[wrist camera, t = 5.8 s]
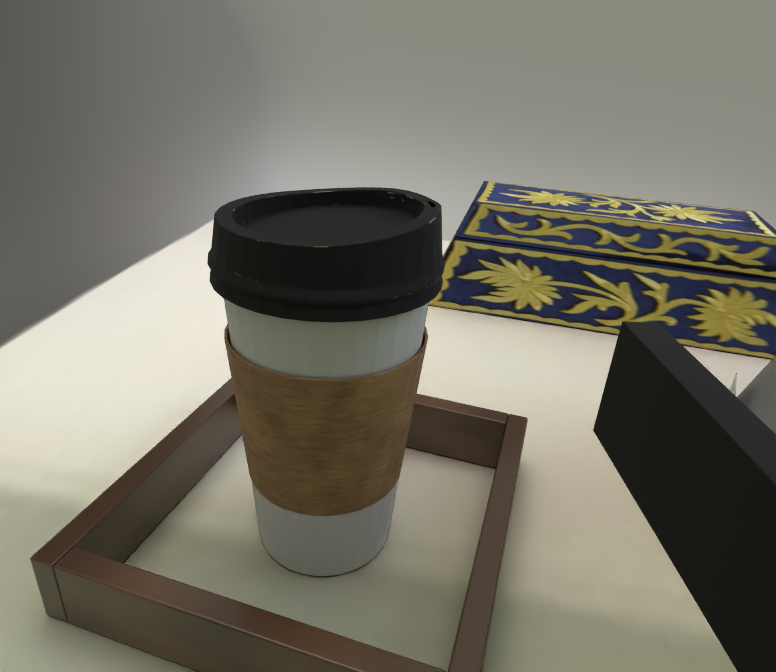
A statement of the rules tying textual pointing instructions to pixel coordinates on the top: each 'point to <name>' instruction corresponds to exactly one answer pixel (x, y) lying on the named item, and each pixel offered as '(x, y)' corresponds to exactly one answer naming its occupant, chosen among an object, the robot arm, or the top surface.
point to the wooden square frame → (235, 619)
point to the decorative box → (616, 266)
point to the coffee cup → (326, 358)
